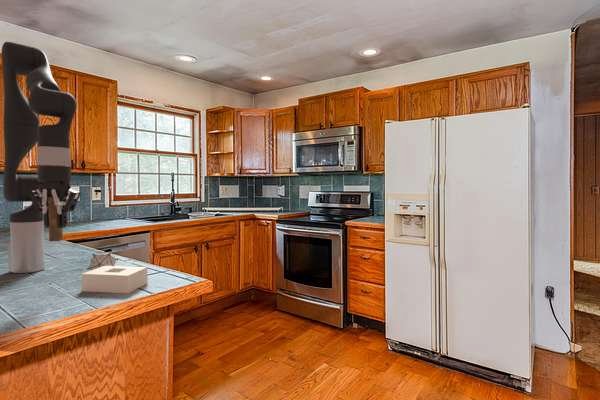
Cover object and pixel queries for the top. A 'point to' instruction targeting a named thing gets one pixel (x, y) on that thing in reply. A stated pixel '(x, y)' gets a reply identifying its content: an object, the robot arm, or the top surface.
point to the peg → (53, 222)
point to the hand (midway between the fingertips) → (55, 227)
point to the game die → (101, 261)
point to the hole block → (114, 279)
